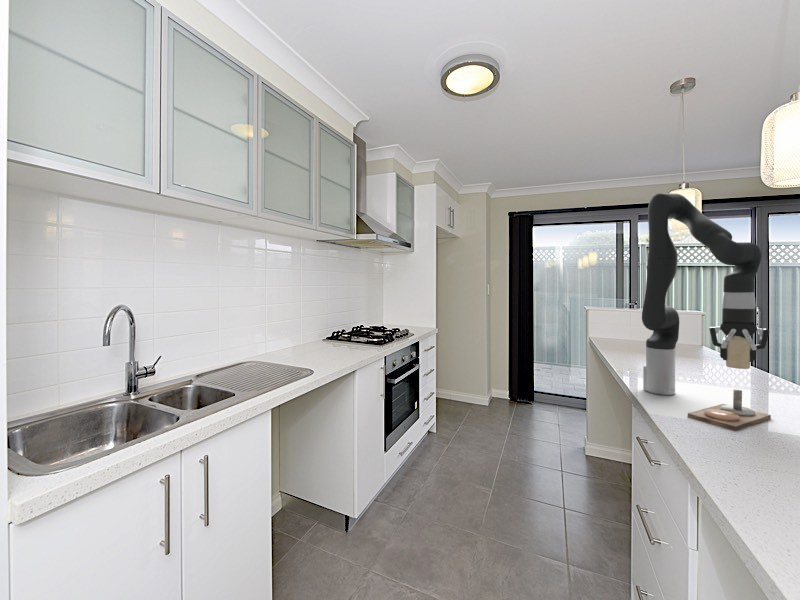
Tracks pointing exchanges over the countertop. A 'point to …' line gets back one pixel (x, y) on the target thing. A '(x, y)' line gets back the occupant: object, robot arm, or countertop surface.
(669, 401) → the countertop surface
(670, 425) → the countertop surface
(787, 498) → the countertop surface
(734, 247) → the robot arm
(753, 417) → the board
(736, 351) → the candle
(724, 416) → the pad
